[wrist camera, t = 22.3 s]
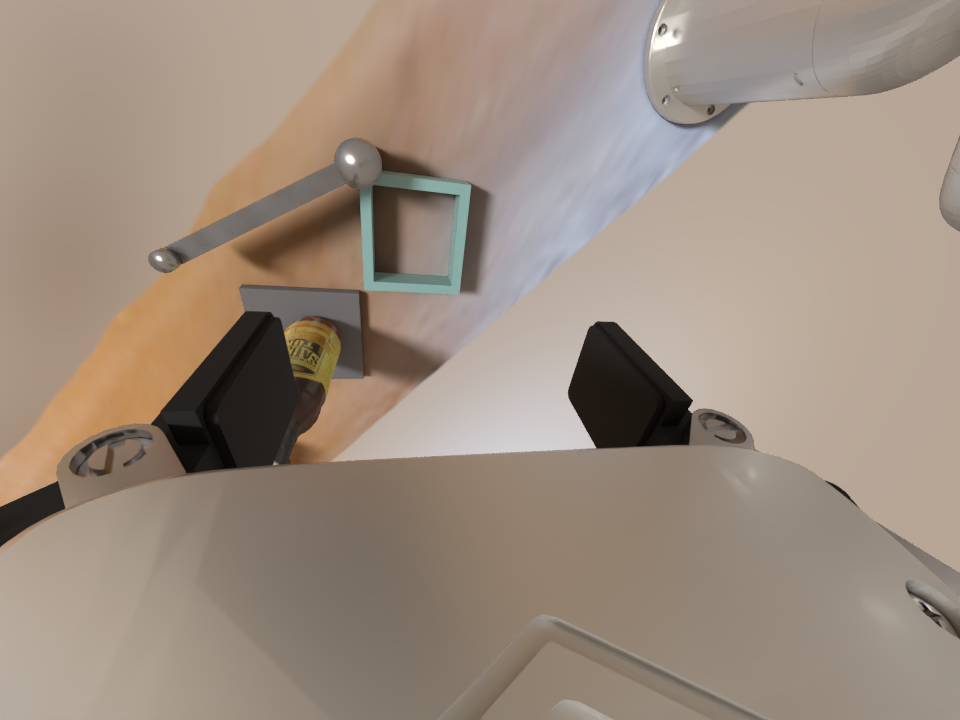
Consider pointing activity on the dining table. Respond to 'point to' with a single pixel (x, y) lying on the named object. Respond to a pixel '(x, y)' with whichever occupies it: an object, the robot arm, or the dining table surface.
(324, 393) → the sauce bottle
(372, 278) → the teal square frame
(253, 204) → the bar
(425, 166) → the dining table surface
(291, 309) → the pad
